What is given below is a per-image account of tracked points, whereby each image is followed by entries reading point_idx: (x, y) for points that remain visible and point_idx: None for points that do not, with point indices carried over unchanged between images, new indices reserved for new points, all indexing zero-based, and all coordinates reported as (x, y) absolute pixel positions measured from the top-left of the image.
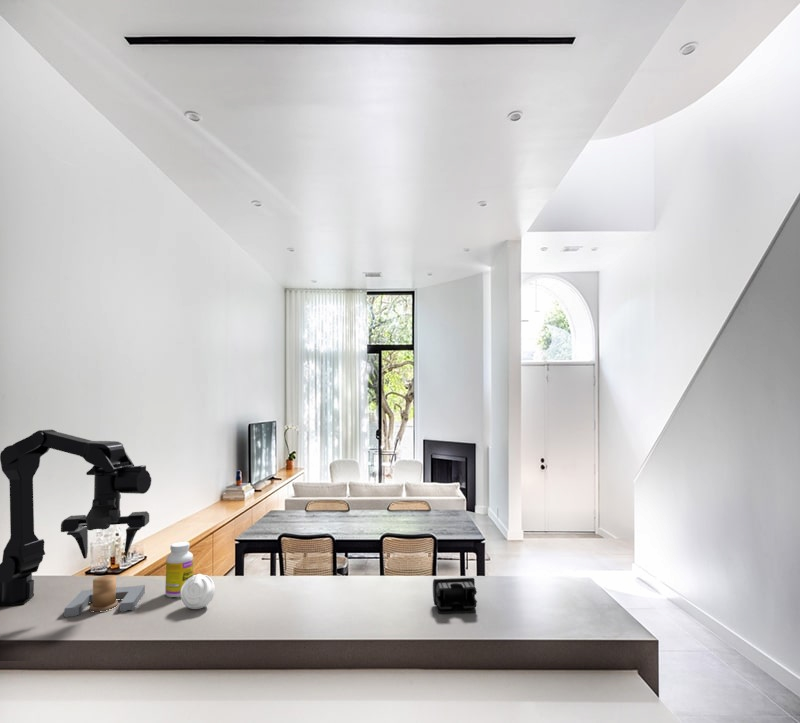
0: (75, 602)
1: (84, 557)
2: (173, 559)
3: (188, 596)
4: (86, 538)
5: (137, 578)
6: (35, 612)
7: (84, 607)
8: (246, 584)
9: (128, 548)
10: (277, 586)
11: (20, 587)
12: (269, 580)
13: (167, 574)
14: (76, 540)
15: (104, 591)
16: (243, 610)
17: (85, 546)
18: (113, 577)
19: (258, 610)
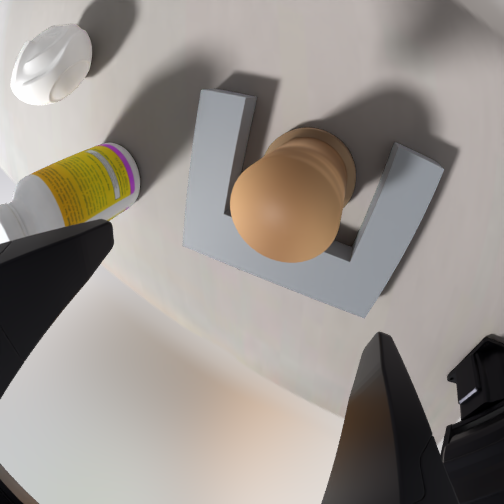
0: (404, 211)
1: (386, 337)
2: (32, 188)
3: (64, 28)
4: (335, 499)
5: (224, 345)
6: (488, 266)
7: (372, 201)
8: (35, 168)
9: (56, 229)
10: (10, 136)
11: (492, 380)
12: (19, 172)
13: (87, 183)
14: (455, 494)
15: (294, 148)
16: (37, 33)
17: (369, 427)
18: (241, 207)
19: (27, 31)
